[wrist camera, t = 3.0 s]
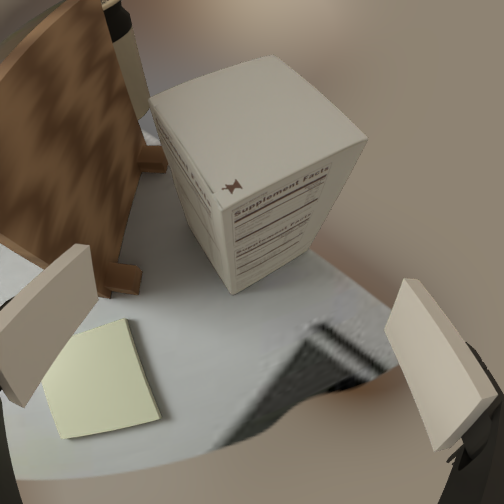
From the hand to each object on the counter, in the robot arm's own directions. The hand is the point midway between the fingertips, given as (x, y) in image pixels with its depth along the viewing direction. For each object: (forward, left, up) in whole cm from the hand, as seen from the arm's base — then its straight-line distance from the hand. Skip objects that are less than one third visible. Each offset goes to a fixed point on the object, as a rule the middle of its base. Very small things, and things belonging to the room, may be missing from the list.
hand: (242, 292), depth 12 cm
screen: (-16, -8, -16) cm, 24 cm away
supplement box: (-9, +4, -17) cm, 19 cm away
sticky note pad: (0, -16, -16) cm, 23 cm away
